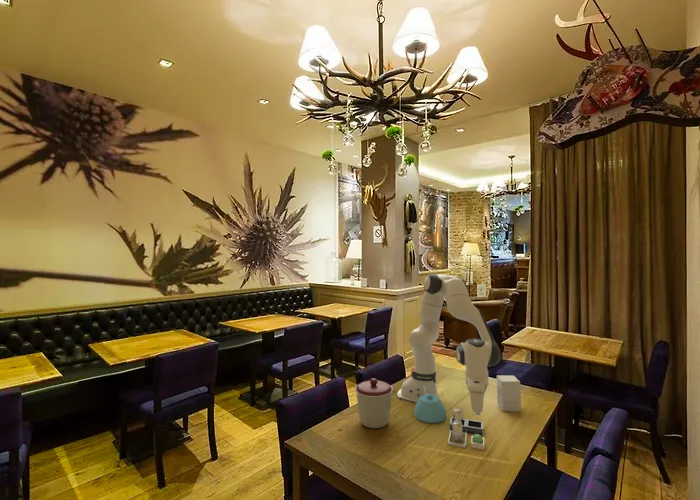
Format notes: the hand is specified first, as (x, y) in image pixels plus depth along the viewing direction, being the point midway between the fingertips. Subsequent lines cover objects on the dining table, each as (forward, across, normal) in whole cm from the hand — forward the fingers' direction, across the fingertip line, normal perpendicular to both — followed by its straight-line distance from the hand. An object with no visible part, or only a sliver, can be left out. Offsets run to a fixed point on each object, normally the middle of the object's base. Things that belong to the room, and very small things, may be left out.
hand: (477, 413), depth 145 cm
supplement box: (+14, -43, +14) cm, 47 cm away
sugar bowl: (+14, -19, -22) cm, 33 cm away
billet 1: (+13, -12, -9) cm, 20 cm away
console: (+14, 0, 0) cm, 14 cm away
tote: (+14, -1, -8) cm, 16 cm away
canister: (+14, -6, -46) cm, 49 cm away
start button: (+12, 0, 0) cm, 12 cm away
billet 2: (+14, -1, -8) cm, 16 cm away
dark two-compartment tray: (+14, -12, -5) cm, 19 cm away
